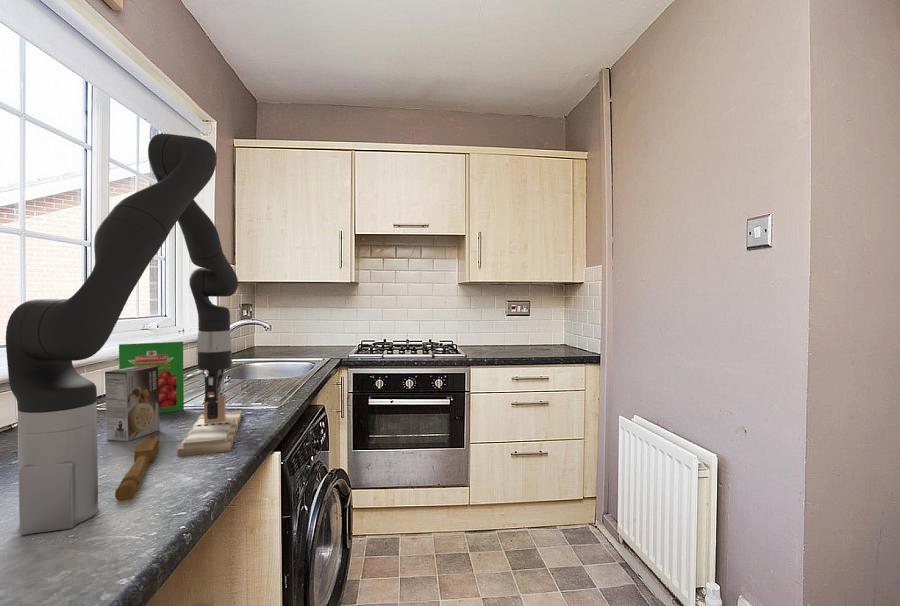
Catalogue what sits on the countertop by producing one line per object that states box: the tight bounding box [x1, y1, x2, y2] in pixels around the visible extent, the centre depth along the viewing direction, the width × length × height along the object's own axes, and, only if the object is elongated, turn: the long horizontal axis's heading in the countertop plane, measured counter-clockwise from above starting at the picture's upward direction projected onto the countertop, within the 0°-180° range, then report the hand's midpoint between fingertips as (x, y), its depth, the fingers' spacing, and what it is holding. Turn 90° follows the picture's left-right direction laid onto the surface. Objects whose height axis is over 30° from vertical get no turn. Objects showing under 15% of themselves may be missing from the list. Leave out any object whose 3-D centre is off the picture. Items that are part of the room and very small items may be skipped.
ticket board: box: [177, 410, 243, 457], centre depth 115 cm, size 30×10×3 cm, turn 20°
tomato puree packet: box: [118, 341, 185, 414], centre depth 133 cm, size 15×1×20 cm, turn 120°
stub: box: [194, 394, 234, 426], centre depth 117 cm, size 6×8×7 cm
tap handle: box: [114, 435, 160, 502], centre depth 91 cm, size 3×3×30 cm
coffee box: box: [104, 366, 161, 442], centre depth 113 cm, size 9×6×16 cm
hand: (215, 414), depth 117 cm, fingers open, 8 cm apart
